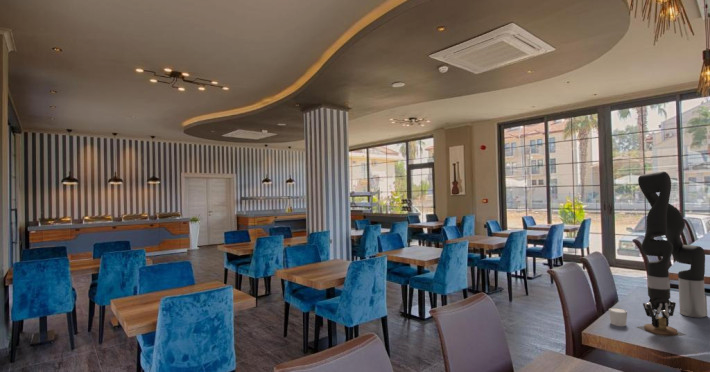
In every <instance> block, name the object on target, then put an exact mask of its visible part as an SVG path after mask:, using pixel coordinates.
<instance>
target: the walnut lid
mask: <svg viewBox="0 0 710 372" xmlns="http://www.w3.org/2000/svg"><path fill="white" fill-rule="evenodd" d="M658 322H659V327H657V328H656V327H654V326H653V325H652V323H646V324H644V325H643V326H644V329H645V330H646V331H645V332H647V331H648V332H647V333H649V332H651V333H654V334H658V335H665V336H672V337H675V336H674V335H677V331H678V330H677V328H674V327H672V326H669V325H668V326H667V327H666V318H664V317H662V316H660V315H658ZM651 333H650V334H651ZM654 334H653V335H654Z"/></svg>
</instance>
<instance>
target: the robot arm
mask: <svg viewBox="0 0 710 372" xmlns="http://www.w3.org/2000/svg"><path fill="white" fill-rule="evenodd" d="M637 183H638V187H639V188H640V190H641V192H642V194H643V195H644V198H645V199H646V201H647V202H648V204H649V206H650V207H651V208H650V210H649V211H648V213H647V215H646V232H645V235H644V238H643V239H642V243H641V252H642V253H643V254H644V255H645V256H648V257H649V256H650V257H662V258H661V259H659V260H653V261H652V260H651V261H649V262H647V281H646V282H647V296H648V297H649V300H648V302H647V303H646V302H643V303H642V306H643V310H645V311H644V312H645V314H646V316H647V317H650V318H651V324H652V325H653V326H654V327H656V328H657V327H659V322H658V316H660V314H661V317H664V318H666V327H667V326H669V324H670V323H669V319H670V317H673V316H674V312H675V308H676V304H677V303H676V302H675V301H672V300H670V299H671V281H670V278H669V277H670V275H669V272H670V271H669V265H670V259H671V257H673V259H674V261H675V262H677V263H679V264H684V265H690V267H689V269H686V270H680V271H679V272H678V274H677V277H678V296H679V297H678V298H679V299H678V300H679V301H678V303H679V314H681V315H683V316H686V317H690V318H697V319H698V318H699V319H700V318H701V319H702V318H705V317H707V316H708V302H707V295H705V292H706V291H705V272H706V253H705V250H704V248H703V246H699V245H692V244H684V243H683V241H682V240H681V235H682V233H683V231H684V229H685V226H686V221H685V219H684V216H683V215H682V213H681V211H680V209H678V208H677V207H675V206H674V205H672V204H671V203H670V197H671V190H672V180H671V177H670V174H669V173H668V172H666V171H655V172H649V173H644V174H641V175H639V176H638V179H637ZM657 193H659V194H657ZM664 236H665V239H655V238H658V237H664Z"/></svg>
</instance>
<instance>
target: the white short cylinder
mask: <svg viewBox="0 0 710 372" xmlns="http://www.w3.org/2000/svg"><path fill="white" fill-rule="evenodd" d="M608 311H609V314H608V315H609V320H610V324H612V325H613V326H617V327H626V326H627V321H628V320H627V319H628V311H627V310H626V309H623V308H620V307H611V308H608Z"/></svg>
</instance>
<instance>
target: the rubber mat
mask: <svg viewBox="0 0 710 372" xmlns="http://www.w3.org/2000/svg"><path fill="white" fill-rule="evenodd" d="M636 328H637V329H639V330H642V331H643V332H647V333H649V334H651V335H654V336H655V337H658V338H661V339H662V338H668V337H669V338H670V337H672V338H673V337H678V336H679V337H681V336H687V334H686V333H683V332H682V331H681V332H680V331H678V330H677V335H674V336H665V335H658V334H654V333H651V332H648V331H646V330H645V329H644V325H641V326H636Z"/></svg>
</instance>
